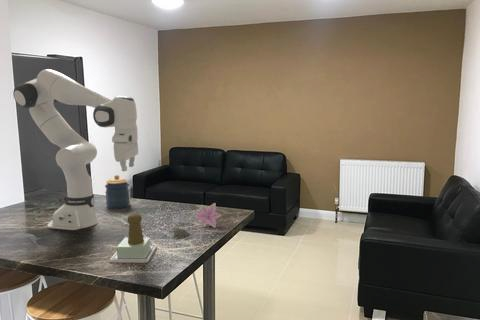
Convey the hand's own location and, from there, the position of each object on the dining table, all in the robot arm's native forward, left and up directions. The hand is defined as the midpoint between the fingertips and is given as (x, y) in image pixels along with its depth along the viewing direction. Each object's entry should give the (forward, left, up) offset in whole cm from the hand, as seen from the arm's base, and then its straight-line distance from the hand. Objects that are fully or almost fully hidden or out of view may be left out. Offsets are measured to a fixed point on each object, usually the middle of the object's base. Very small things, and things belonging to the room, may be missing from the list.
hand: (128, 168), depth 162 cm
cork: (+7, -16, -26) cm, 31 cm away
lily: (+31, +20, -31) cm, 48 cm away
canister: (-23, +51, -31) cm, 64 cm away
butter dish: (+6, -16, -31) cm, 35 cm away
